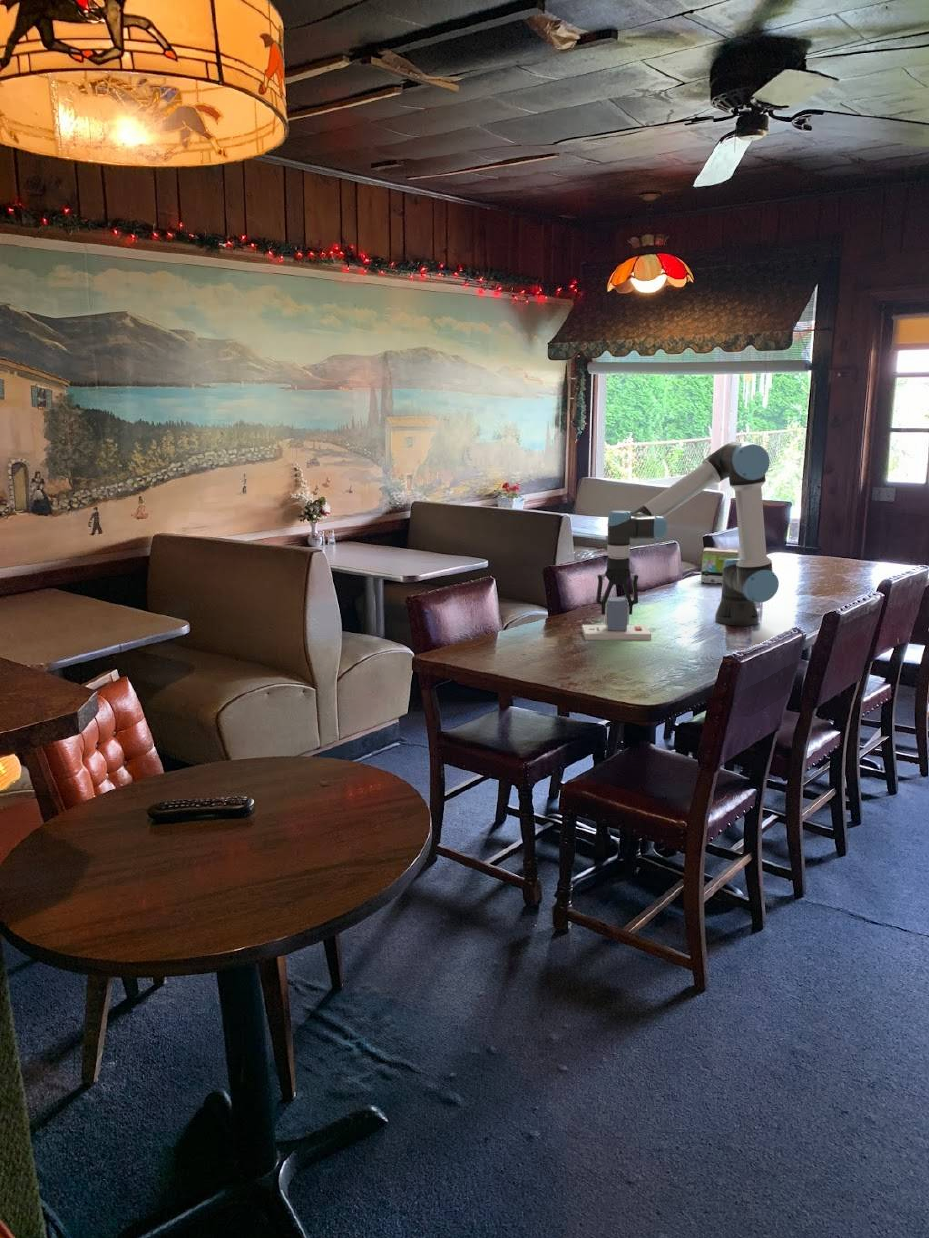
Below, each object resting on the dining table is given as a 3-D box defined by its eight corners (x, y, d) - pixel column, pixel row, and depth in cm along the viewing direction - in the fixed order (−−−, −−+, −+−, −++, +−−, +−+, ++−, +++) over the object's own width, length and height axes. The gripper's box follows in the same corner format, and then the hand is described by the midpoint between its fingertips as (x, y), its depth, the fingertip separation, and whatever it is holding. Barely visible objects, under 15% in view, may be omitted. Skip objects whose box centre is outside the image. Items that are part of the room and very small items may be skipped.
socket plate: (645, 630, 325) (645, 623, 324) (651, 639, 312) (651, 632, 312) (582, 630, 326) (582, 623, 325) (585, 639, 313) (585, 632, 313)
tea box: (700, 583, 410) (702, 550, 407) (702, 579, 419) (704, 546, 416) (736, 585, 405) (738, 551, 402) (737, 581, 415) (739, 548, 411)
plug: (624, 631, 322) (625, 597, 319) (626, 635, 316) (627, 601, 313) (605, 631, 322) (606, 597, 320) (607, 635, 316) (608, 601, 313)
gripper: (645, 555, 316) (643, 621, 322) (588, 555, 317) (586, 621, 322) (649, 558, 309) (646, 626, 314) (590, 558, 310) (588, 626, 315)
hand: (616, 623), depth 318 cm, fingers open, 7 cm apart
